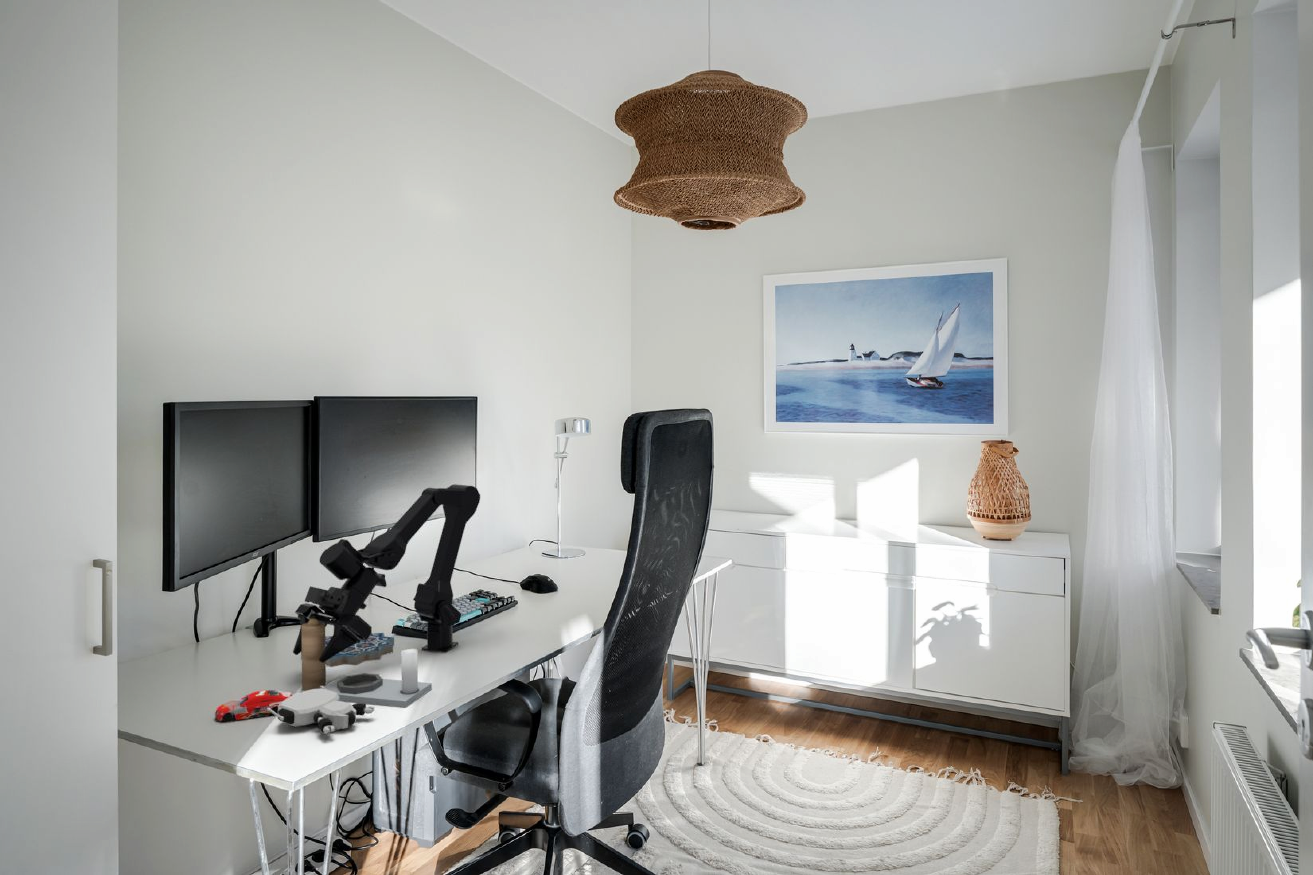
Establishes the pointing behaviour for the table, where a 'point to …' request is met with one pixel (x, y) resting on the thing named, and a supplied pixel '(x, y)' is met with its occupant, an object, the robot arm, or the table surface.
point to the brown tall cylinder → (313, 655)
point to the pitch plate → (383, 685)
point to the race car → (252, 705)
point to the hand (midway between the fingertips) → (307, 657)
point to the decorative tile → (362, 650)
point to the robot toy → (320, 710)
